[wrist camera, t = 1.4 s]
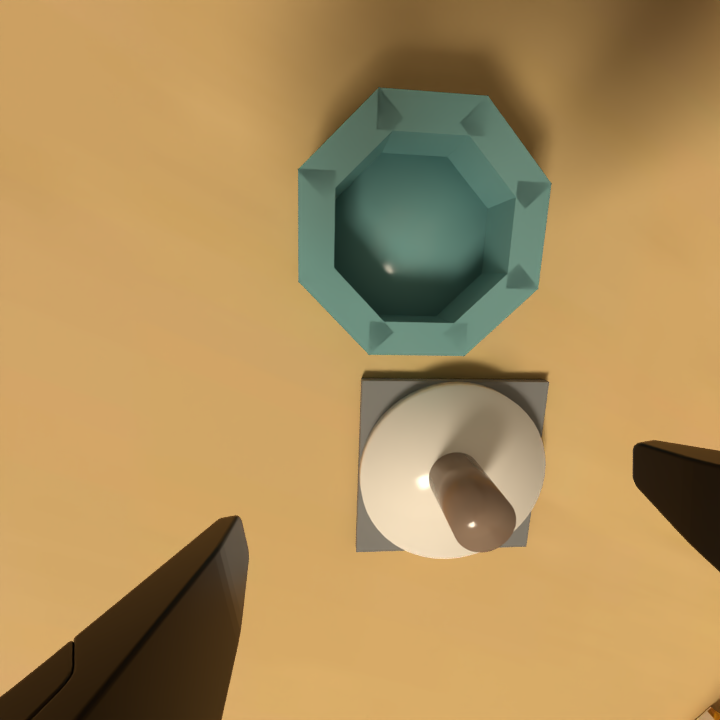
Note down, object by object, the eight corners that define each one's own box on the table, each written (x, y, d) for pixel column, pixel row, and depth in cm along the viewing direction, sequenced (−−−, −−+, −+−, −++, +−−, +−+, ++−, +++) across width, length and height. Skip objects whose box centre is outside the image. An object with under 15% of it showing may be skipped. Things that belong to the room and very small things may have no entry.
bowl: (517, 133, 18) (562, 101, 15) (494, 343, 21) (529, 357, 17) (303, 119, 18) (297, 80, 14) (302, 339, 20) (298, 353, 16)
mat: (544, 379, 21) (548, 382, 21) (521, 540, 23) (526, 546, 23) (361, 378, 20) (362, 380, 20) (355, 546, 23) (356, 552, 22)
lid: (549, 382, 21) (613, 413, 16) (525, 546, 23) (577, 615, 18) (362, 380, 20) (373, 413, 15) (356, 551, 22) (364, 626, 17)
